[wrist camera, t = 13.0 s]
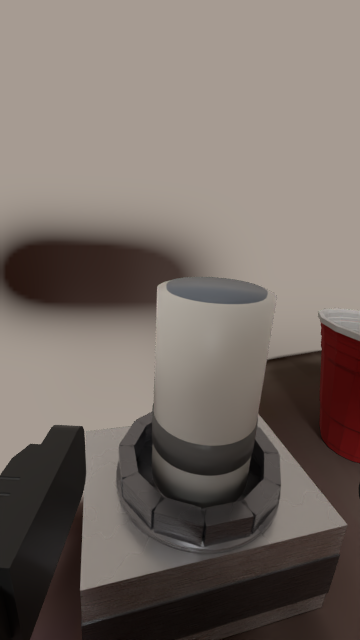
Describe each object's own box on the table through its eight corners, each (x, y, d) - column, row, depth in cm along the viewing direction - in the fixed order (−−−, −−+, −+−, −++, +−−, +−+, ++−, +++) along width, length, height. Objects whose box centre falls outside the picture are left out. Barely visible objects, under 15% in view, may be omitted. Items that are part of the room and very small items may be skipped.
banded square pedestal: (246, 474, 25) (259, 393, 22) (323, 607, 16) (356, 501, 14) (89, 501, 22) (84, 411, 19) (86, 683, 13) (76, 564, 11)
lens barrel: (225, 430, 20) (244, 275, 17) (267, 500, 15) (305, 302, 12) (143, 441, 19) (147, 274, 15) (161, 522, 14) (171, 305, 10)
